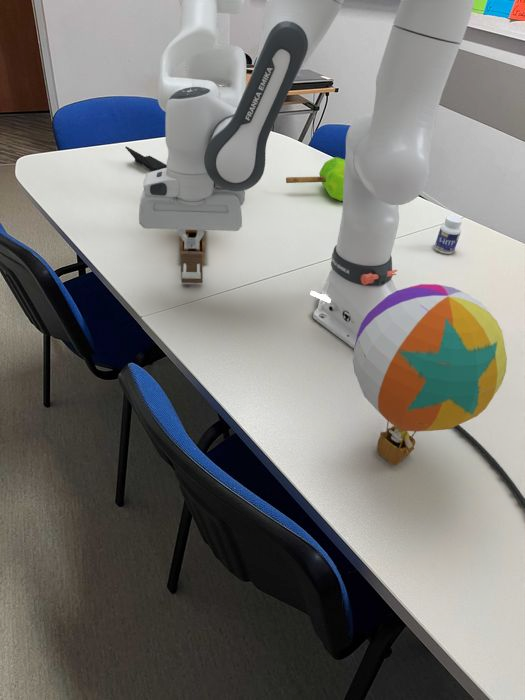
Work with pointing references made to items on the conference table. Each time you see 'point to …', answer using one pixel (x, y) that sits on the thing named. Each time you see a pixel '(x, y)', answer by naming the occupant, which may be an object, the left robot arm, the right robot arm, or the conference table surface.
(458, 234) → the pill bottle
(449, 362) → the toy
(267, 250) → the conference table surface
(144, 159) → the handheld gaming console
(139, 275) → the conference table surface
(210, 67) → the left robot arm
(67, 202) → the conference table surface
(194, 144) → the right robot arm
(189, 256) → the drawer
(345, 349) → the conference table surface
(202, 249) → the cabinet
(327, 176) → the decorative tree
